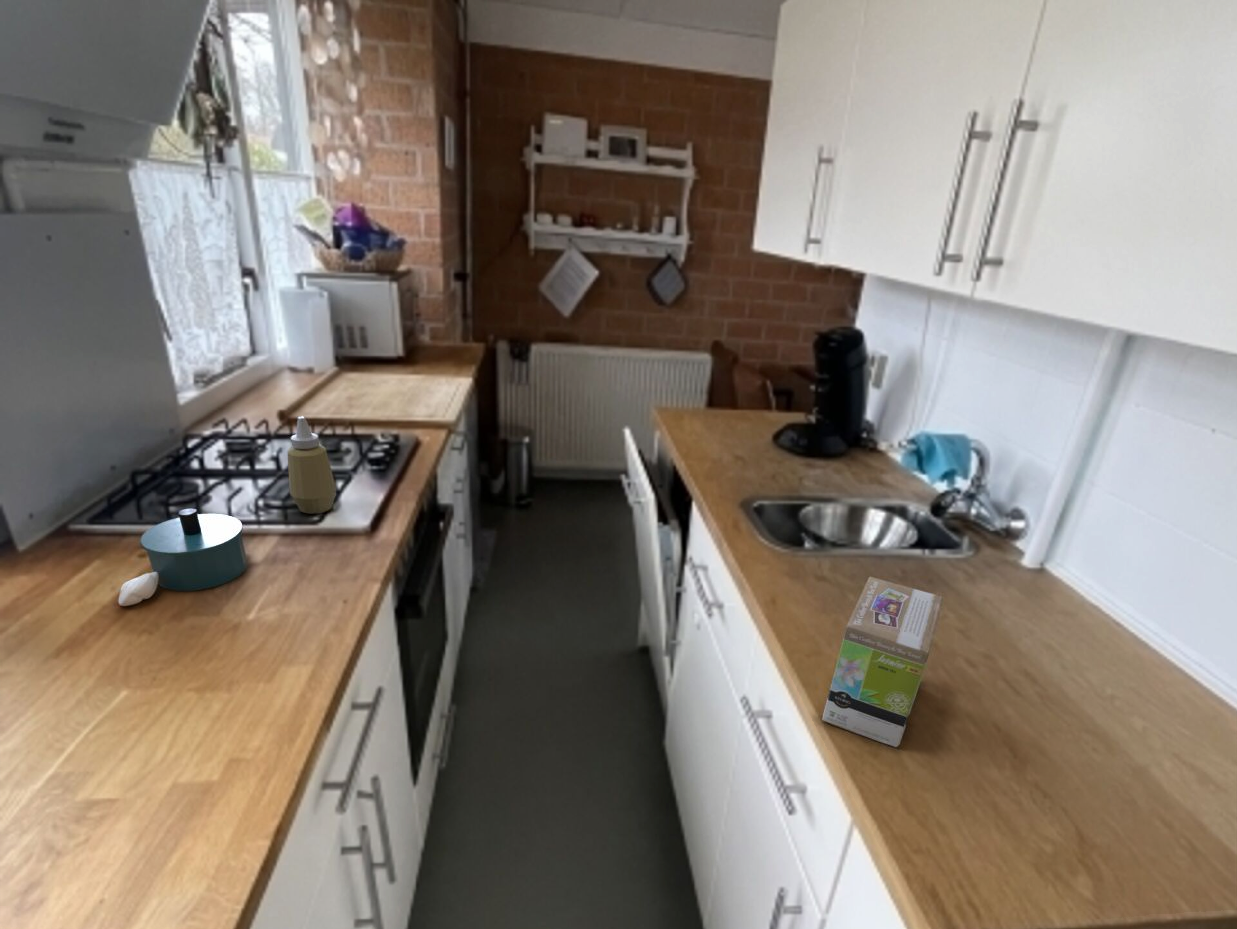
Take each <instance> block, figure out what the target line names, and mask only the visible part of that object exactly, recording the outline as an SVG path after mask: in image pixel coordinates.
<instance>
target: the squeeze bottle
mask: <svg viewBox="0 0 1237 929" xmlns="http://www.w3.org/2000/svg"><path fill="white" fill-rule="evenodd" d="M290 443H291V447H290V448H289V449H288V450H287V451H286V452H287V453H286V454H287V466H288V467H287V468H288V480H289V481H288V484H289V494H290V496H291V498H292V499H293V501H294V502H295V504H296V506H297V507H298V510H299V511H300V512H302V513H304V514H308V515H309V514H321V513H325V512H328V511H329V510H331V509H332V508H333V505H334V501H335V498H336V497H335V496H336V493H337V486H336V482H335V478H334V474H333V471H332V467H331V463H330V459H329V455H328V451H327V449H326V447H325V446H323V445H321V444H320V438H319V434H316V433H313V432H312V431H311V429H310V426H309V424H308V421H307V419H306V417H305V416H303V415H301V416H298V417H297V421H296V434H293V435H292V436H290Z"/></svg>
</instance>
